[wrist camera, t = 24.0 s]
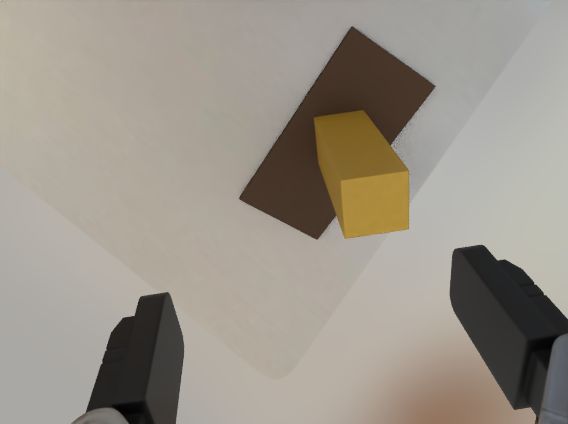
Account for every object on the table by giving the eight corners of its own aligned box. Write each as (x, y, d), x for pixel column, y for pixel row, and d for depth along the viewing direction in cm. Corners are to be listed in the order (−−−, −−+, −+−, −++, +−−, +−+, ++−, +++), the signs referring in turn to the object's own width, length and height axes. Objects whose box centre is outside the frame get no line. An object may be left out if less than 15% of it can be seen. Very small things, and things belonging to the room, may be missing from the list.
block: (318, 163, 43) (344, 239, 32) (313, 117, 41) (340, 180, 29) (365, 156, 43) (409, 229, 32) (363, 109, 41) (409, 170, 29)
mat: (316, 237, 47) (317, 240, 47) (239, 197, 44) (239, 199, 44) (434, 85, 41) (435, 86, 40) (351, 26, 38) (352, 26, 37)
